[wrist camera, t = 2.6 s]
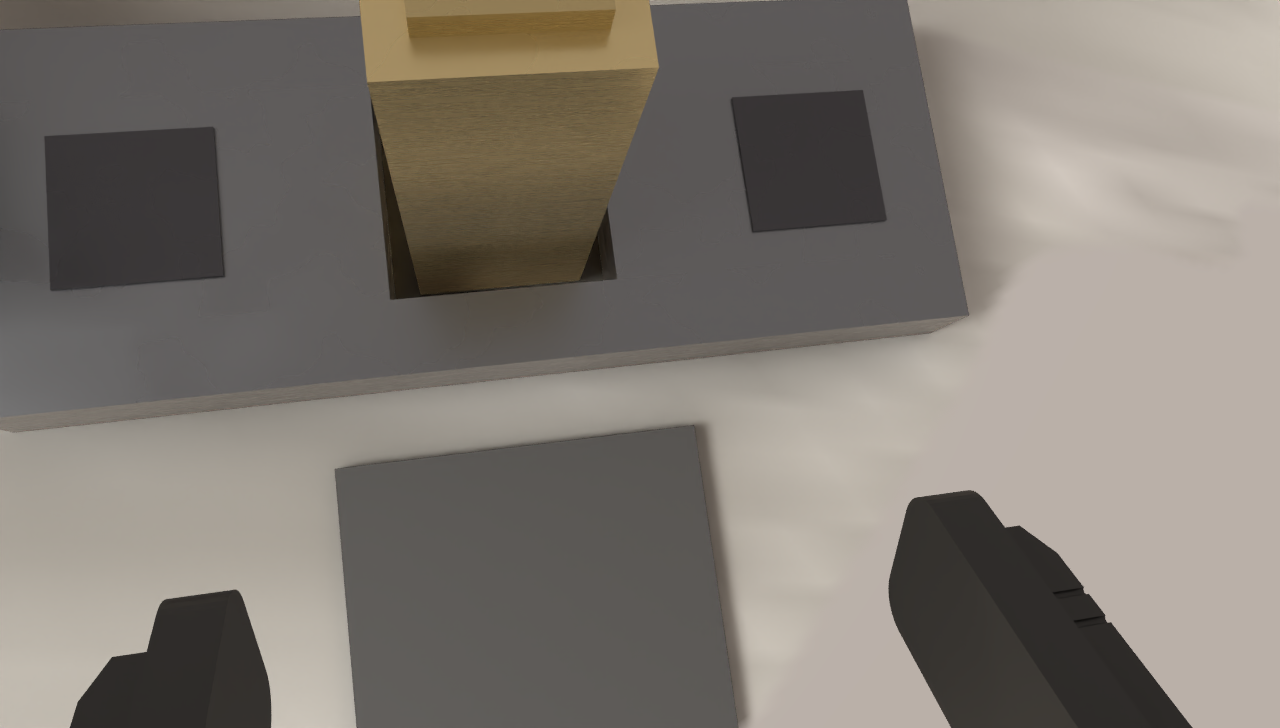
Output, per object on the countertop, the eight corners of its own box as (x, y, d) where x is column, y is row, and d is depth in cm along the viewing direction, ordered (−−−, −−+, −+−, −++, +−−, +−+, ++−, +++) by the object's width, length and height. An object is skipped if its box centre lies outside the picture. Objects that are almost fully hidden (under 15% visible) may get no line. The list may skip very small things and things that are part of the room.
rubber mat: (369, 858, 24) (368, 863, 24) (336, 469, 26) (334, 468, 26) (743, 785, 26) (747, 789, 26) (690, 426, 28) (694, 425, 27)
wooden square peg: (420, 294, 27) (361, 63, 14) (405, 143, 28) (335, -212, 15) (579, 280, 28) (665, 48, 15) (560, 134, 29) (626, -211, 16)
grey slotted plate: (13, 432, 25) (-38, 420, 22) (2, 76, 26) (-47, 29, 24) (930, 333, 30) (970, 314, 27) (874, 36, 31) (907, -6, 29)
